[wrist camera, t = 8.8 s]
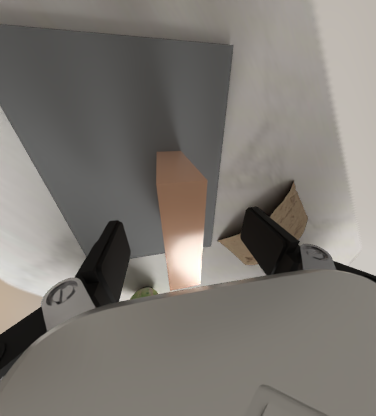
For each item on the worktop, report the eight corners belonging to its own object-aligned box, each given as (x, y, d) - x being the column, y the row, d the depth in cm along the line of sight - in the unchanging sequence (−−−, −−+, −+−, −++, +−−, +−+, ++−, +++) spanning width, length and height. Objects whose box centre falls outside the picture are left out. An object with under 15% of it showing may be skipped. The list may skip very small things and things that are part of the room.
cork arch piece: (292, 174, 18) (312, 181, 16) (311, 215, 23) (328, 225, 21) (209, 241, 21) (215, 255, 19) (241, 264, 26) (249, 277, 24)
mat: (209, 243, 21) (211, 246, 20) (92, 260, 18) (90, 264, 18) (229, 48, 10) (233, 45, 10) (-35, 26, 8) (-49, 19, 7)
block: (183, 221, 17) (200, 284, 10) (164, 223, 17) (170, 290, 10) (180, 150, 13) (207, 180, 6) (156, 151, 12) (156, 183, 6)
